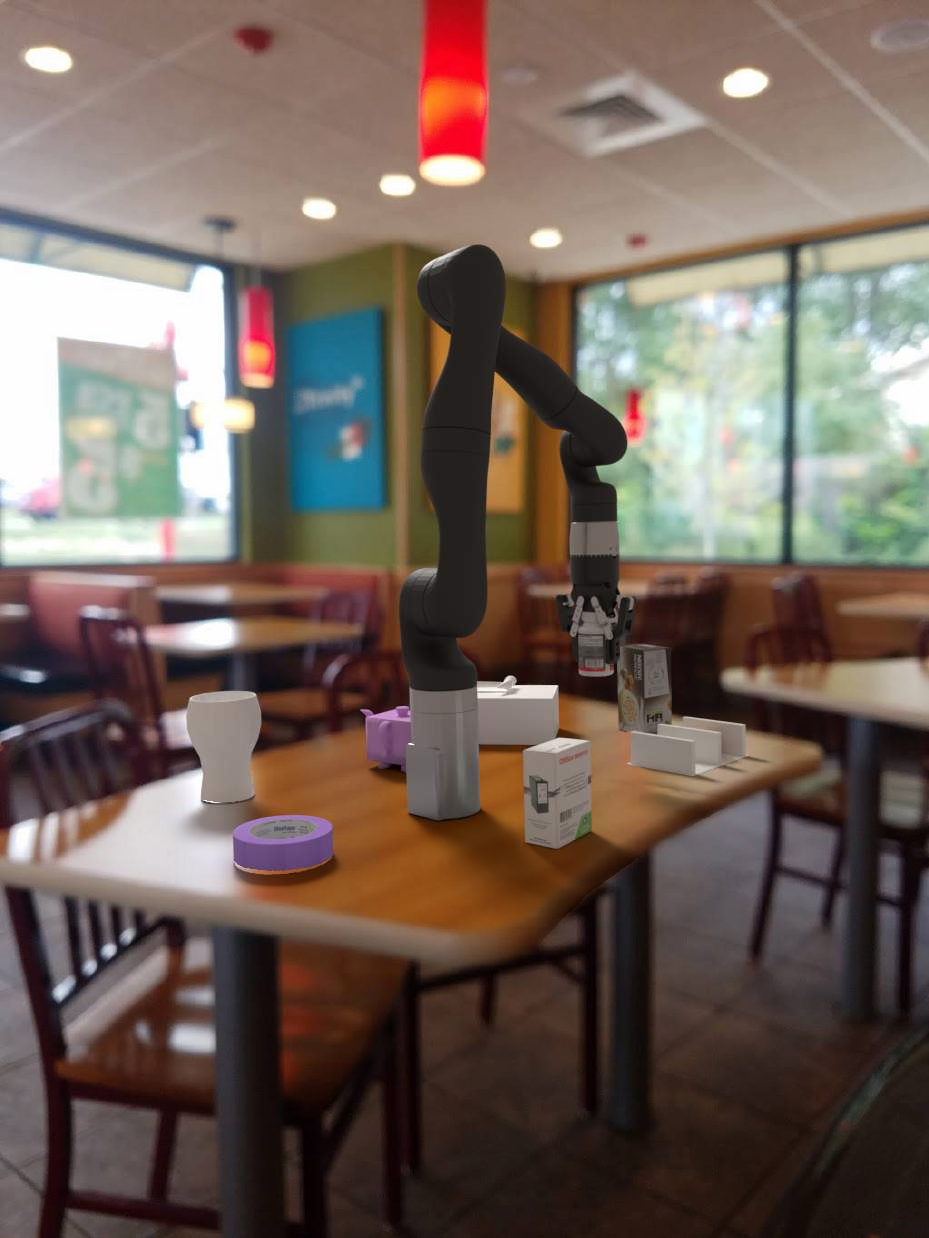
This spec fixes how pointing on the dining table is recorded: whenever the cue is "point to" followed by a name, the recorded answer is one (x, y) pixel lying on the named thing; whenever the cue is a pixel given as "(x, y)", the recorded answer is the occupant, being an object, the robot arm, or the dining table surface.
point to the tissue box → (517, 713)
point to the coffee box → (644, 687)
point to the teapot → (388, 736)
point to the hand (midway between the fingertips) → (596, 661)
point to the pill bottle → (592, 647)
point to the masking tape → (283, 842)
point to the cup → (224, 742)
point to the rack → (689, 746)
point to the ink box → (557, 792)
